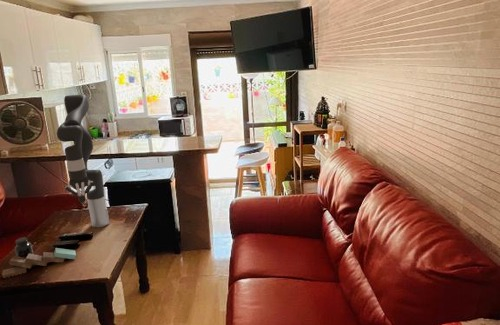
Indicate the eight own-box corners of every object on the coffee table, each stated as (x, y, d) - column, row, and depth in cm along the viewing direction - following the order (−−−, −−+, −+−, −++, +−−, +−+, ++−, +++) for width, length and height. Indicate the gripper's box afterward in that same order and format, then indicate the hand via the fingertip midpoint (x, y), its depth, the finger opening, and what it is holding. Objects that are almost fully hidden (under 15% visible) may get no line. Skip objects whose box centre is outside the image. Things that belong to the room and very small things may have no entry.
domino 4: (64, 253, 178) (43, 252, 173) (64, 258, 174) (43, 256, 169) (63, 257, 178) (42, 256, 174) (63, 262, 174) (42, 261, 169)
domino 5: (75, 250, 180) (55, 247, 176) (75, 255, 176) (55, 252, 171) (73, 254, 180) (54, 251, 176) (74, 259, 176) (54, 256, 171)
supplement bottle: (23, 258, 179) (17, 236, 175) (37, 257, 179) (32, 235, 176) (15, 266, 172) (9, 243, 169) (30, 265, 173) (25, 242, 169)
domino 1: (35, 259, 173) (14, 255, 170) (31, 264, 168) (10, 259, 165) (33, 264, 173) (13, 259, 170) (30, 268, 168) (8, 264, 165)
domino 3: (49, 257, 175) (28, 253, 172) (47, 261, 170) (26, 258, 167) (48, 261, 175) (27, 257, 172) (45, 266, 170) (24, 262, 167)
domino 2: (25, 264, 170) (3, 270, 166) (25, 269, 166) (2, 275, 162) (26, 268, 171) (4, 274, 167) (26, 273, 167) (3, 279, 163)
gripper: (61, 172, 163) (68, 208, 168) (92, 167, 170) (98, 201, 175) (59, 168, 169) (66, 203, 174) (90, 163, 176) (95, 196, 181)
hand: (82, 202), depth 175 cm, fingers closed
